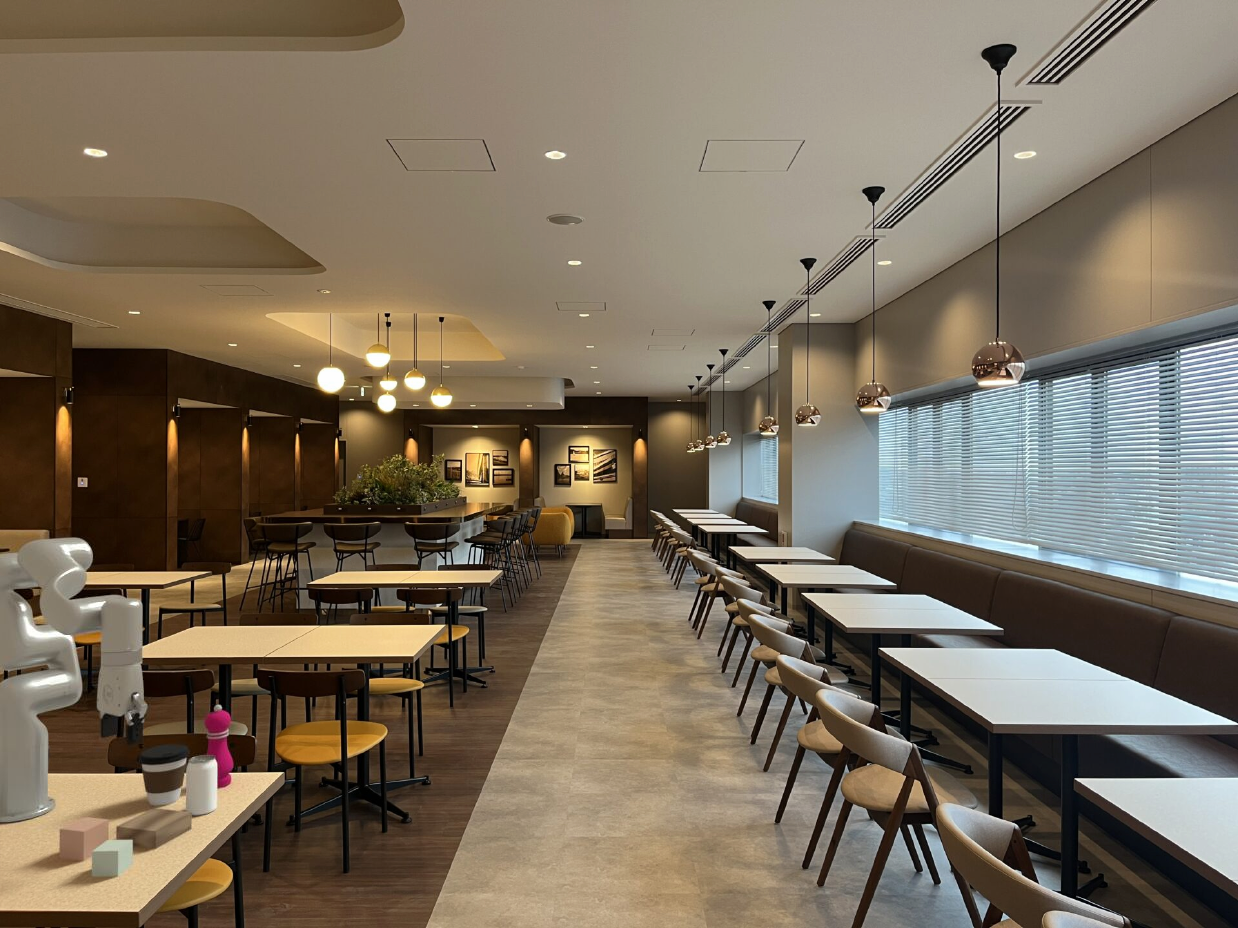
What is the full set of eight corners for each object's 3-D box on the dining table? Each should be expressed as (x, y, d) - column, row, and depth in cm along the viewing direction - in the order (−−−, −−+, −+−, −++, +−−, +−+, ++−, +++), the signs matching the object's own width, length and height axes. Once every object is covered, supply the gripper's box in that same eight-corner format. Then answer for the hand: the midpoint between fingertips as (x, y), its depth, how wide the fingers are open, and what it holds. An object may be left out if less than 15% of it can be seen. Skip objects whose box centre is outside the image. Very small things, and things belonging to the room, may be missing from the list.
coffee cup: (194, 801, 197) (195, 751, 197) (142, 813, 190) (143, 761, 190) (183, 788, 205) (184, 740, 205) (133, 799, 198) (134, 749, 198)
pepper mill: (214, 778, 212) (215, 700, 212) (239, 780, 211) (239, 701, 211) (194, 788, 205) (195, 707, 205) (220, 790, 204) (220, 709, 204)
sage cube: (91, 877, 160) (92, 851, 160) (107, 865, 165) (107, 839, 165) (118, 876, 160) (118, 850, 160) (132, 864, 165) (132, 839, 165)
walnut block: (116, 845, 174) (116, 826, 174) (153, 826, 184) (153, 807, 184) (155, 850, 172) (156, 831, 172) (191, 830, 181) (191, 812, 181)
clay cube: (59, 858, 168) (59, 828, 168) (84, 845, 173) (85, 816, 174) (83, 861, 166) (83, 831, 166) (108, 848, 172) (108, 819, 172)
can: (204, 817, 188) (204, 764, 188) (179, 814, 189) (179, 762, 189) (223, 806, 194) (223, 754, 194) (199, 804, 195) (199, 753, 195)
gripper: (81, 657, 175) (81, 738, 175) (126, 665, 166) (125, 751, 166) (118, 650, 182) (117, 728, 181) (162, 658, 173) (162, 740, 172)
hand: (121, 739), depth 174 cm, fingers open, 9 cm apart
